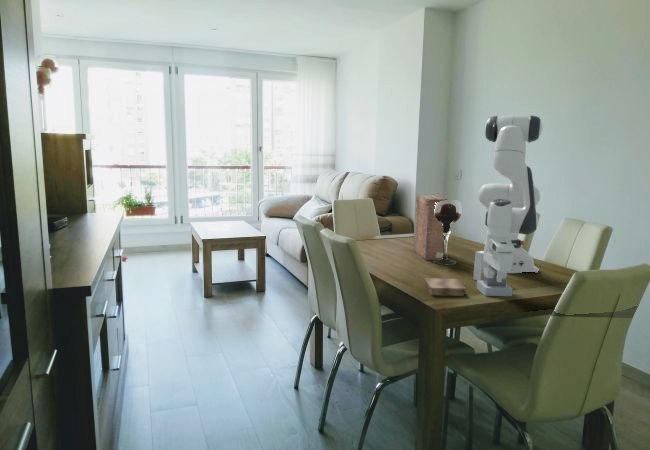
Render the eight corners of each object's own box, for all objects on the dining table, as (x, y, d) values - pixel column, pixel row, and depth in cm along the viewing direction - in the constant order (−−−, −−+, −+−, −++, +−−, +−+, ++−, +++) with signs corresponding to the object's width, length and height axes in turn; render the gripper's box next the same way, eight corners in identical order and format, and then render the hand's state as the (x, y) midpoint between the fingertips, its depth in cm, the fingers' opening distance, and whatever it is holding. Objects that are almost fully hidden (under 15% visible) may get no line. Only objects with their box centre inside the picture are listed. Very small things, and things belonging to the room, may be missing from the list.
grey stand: (502, 288, 185) (502, 281, 185) (511, 296, 175) (512, 288, 175) (476, 287, 185) (477, 280, 185) (484, 295, 175) (485, 287, 175)
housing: (501, 282, 182) (502, 267, 181) (505, 286, 177) (507, 270, 177) (483, 282, 182) (484, 267, 181) (487, 285, 178) (488, 270, 177)
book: (413, 249, 256) (416, 194, 251) (430, 249, 256) (433, 194, 251) (425, 260, 231) (428, 199, 226) (444, 260, 231) (447, 199, 226)
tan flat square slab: (456, 286, 187) (457, 278, 186) (465, 296, 174) (466, 288, 173) (423, 285, 187) (424, 278, 186) (430, 295, 174) (431, 287, 174)
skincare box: (480, 281, 194) (482, 253, 192) (472, 279, 198) (475, 251, 196) (491, 280, 196) (493, 252, 194) (484, 278, 200) (486, 250, 198)
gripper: (480, 237, 187) (478, 271, 190) (498, 248, 167) (495, 285, 169) (496, 238, 187) (493, 271, 190) (516, 248, 167) (513, 286, 169)
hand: (494, 278), depth 179 cm, fingers open, 7 cm apart
